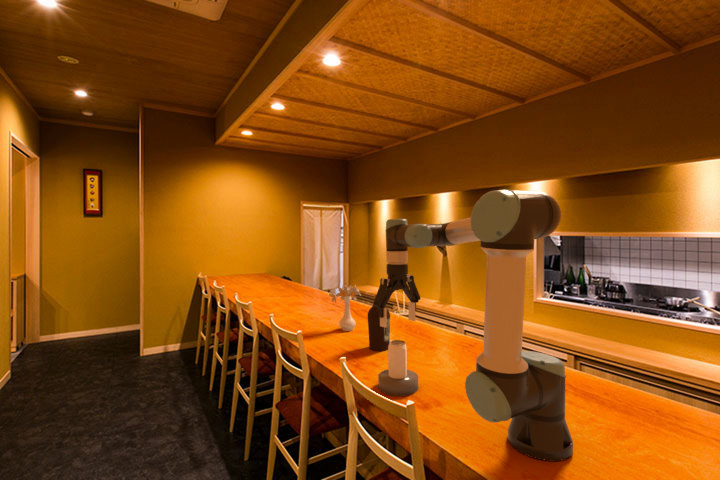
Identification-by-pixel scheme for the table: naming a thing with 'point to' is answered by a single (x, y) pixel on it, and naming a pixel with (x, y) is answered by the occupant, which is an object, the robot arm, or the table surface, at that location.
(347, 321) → the flower vase
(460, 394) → the table surface
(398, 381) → the stand
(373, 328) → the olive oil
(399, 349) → the can
